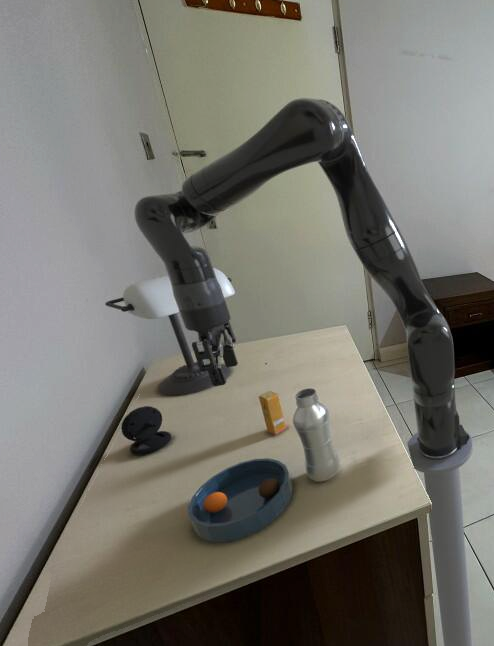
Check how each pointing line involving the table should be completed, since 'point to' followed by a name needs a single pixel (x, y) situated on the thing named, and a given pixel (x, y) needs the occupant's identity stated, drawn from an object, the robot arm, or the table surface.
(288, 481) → the bowl
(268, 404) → the supplement box
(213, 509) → the orange ball
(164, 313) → the lamp
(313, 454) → the silver bottle
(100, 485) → the table surface
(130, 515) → the table surface
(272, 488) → the brown ball
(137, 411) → the webcam
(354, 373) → the table surface
